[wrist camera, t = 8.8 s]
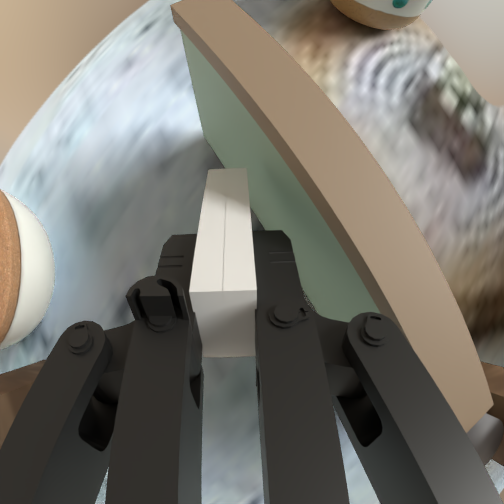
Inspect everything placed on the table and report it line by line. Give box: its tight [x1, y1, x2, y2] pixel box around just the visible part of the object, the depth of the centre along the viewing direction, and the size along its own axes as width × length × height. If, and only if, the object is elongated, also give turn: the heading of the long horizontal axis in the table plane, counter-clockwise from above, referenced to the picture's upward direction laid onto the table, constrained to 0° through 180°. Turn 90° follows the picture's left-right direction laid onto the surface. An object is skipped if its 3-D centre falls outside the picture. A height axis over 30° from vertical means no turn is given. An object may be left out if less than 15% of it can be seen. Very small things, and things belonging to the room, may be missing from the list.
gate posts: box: [0, 360, 504, 466], centre depth 11 cm, size 28×3×16 cm, turn 93°
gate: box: [170, 0, 504, 466], centre depth 14 cm, size 21×2×12 cm, turn 32°
